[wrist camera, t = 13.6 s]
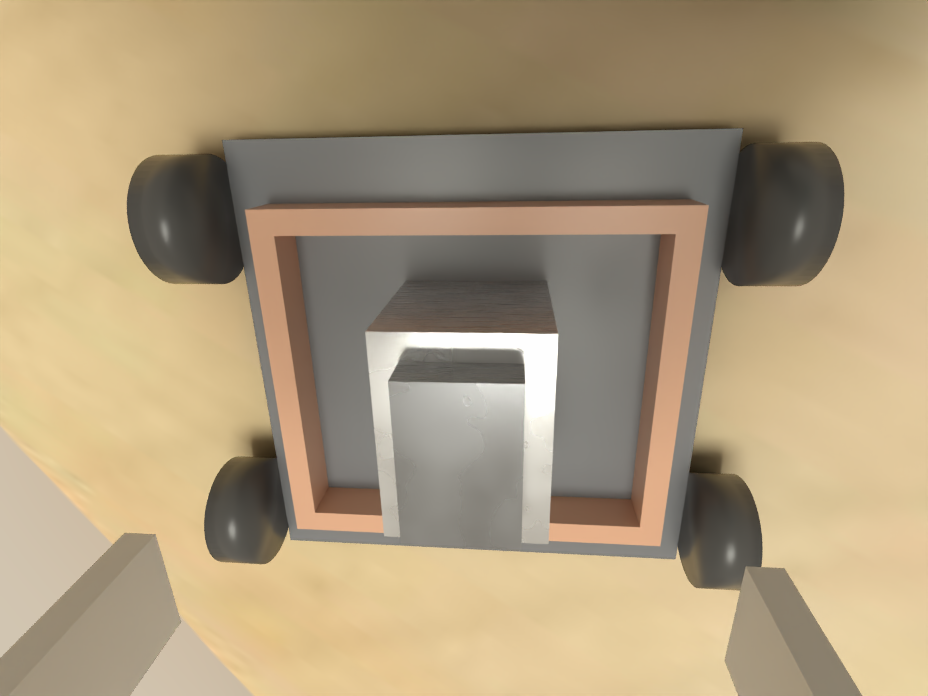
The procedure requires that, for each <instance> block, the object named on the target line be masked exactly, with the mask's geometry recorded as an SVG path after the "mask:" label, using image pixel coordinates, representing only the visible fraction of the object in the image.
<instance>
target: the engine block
mask: <svg viewBox="0 0 928 696" xmlns="http://www.w3.org/2000/svg"><path fill="white" fill-rule="evenodd" d="M365 336H366V347H367V357H368V368H369V379H370V390H371V400H372V411H373V422H374V433H375V444H376V454H377V465H378V476H379V487H380V497H381V508H382V519H383V530H384V536H388V537H400V540H401V545H417V546H437V547H457V548H478V549H498V550H518V551H521V543H532V544H549V523H550V502H551V481H552V459H553V438H554V416H555V395H556V373H557V352H558V330H557V326H556V321H555V316H554V311H553V307H552V302H551V297H550V293H549V288H548V283H547V281H405V282H404V283H403V285H402V286H401V287H400V288H399V290H398V291H397V292H396V293H395V295H394V296H393V297H392V298H391V300H390V301H389V302H388V303H387V305H386V306H385V307H384V309H383V310H382V311H381V312H380V314H379V315H378V316H377V317H376V319H375V320H374V321H373V322H372V324H371V325H370V326H369V327H368V329H367V330H366V331H365Z"/></svg>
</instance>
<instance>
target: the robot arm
mask: <svg viewBox="0 0 928 696" xmlns="http://www.w3.org/2000/svg"><path fill="white" fill-rule="evenodd" d="M180 623H181V620H180V616H179V613H178V610H177V606H176V603H175V599H174V596H173V592H172V589H171V586H170V582H169V579H168V575H167V572H166V569H165V565H164V562H163V558H162V555H161V552H160V548H159V545H158V541H157V538H156V534H137V533H124V534H123V535H122V536H121V537H120V538H119V539H118V540H117V541H116V542H115V543H114V544H113V545H112V546H111V547H110V548H109V549H108V550H107V551H106V552H105V553H104V554H103V555H102V556H101V557H100V558H99V559H98V560H97V561H96V562H95V563H94V564H93V565H92V567H90V569H88V570H87V571H86V572H85V573H84V574H83V575H82V576H81V577H80V578H79V579H78V580H77V581H76V583H74V584H73V585H72V587H71V588H70V589H69V590H68V591H67V592H66V593H65V594H64V595H63V596H62V597H61V598H60V599H59V600H58V601H57V602H56V603H55V604H54V605H53V606H52V607H51V608H50V609H49V610H48V611H47V612H46V613H45V614H44V615H43V616H42V617H41V618H40V619H39V620H38V621H37V622H36V623H35V624H34V625H33V626H32V627H31V628H30V629H29V630H28V631H27V632H26V633H25V634H24V635H23V636H22V637H21V638H20V639H19V640H18V641H17V642H16V643H15V644H14V645H13V646H12V647H11V648H10V649H9V650H8V651H7V652H6V653H5V654H4V655H3V656H2V657H1V658H0V696H130V695H131V693H132V692H133V691H134V689H135V688H136V686H137V685H138V683H139V682H140V680H141V679H142V678H143V676H144V675H145V673H146V672H147V670H148V669H149V667H150V666H151V664H152V663H153V662H154V660H155V659H156V657H157V656H158V655H159V653H160V652H161V650H162V649H163V647H164V646H165V645H166V643H167V642H168V640H169V639H170V637H171V636H172V635H173V633H174V632H175V630H176V628H177V627H178V626H179V624H180ZM725 663H726V665H727V668H728V670H729V673H730V676H731V678H732V681H733V683H734V686H735V688H736V691H737V693H738V696H862V694H861V693H860V691H859V690H858V688H857V686H856V685H855V683H854V681H853V680H852V678H851V676H850V675H849V673H848V672H847V670H846V668H845V667H844V665H843V663H842V662H841V660H840V658H839V657H838V655H837V654H836V652H835V650H834V649H833V647H832V645H831V644H830V642H829V641H828V639H827V637H826V636H825V634H824V632H823V631H822V629H821V627H820V626H819V624H818V623H817V621H816V619H815V618H814V616H813V614H812V613H811V611H810V609H809V608H808V606H807V605H806V603H805V601H804V600H803V598H802V596H801V595H800V593H799V591H798V590H797V588H796V587H795V585H794V583H793V582H792V580H791V578H790V577H789V575H788V573H787V572H786V570H785V569H784V568H767V567H749V566H746V567H745V572H744V576H743V581H742V585H741V590H740V594H739V599H738V603H737V608H736V612H735V616H734V621H733V625H732V630H731V634H730V639H729V643H728V648H727V652H726V657H725Z"/></svg>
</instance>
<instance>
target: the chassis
mask: <svg viewBox="0 0 928 696" xmlns="http://www.w3.org/2000/svg"><path fill="white" fill-rule="evenodd" d="M742 133H743V128H735V129H691V130H646V131H602V132H557V133H513V134H468V135H424V136H379V137H335V138H291V139H246V140H222V142H223V148H224V154H225V159H226V162H225V161H223V160H222V159H221V158H219V157H217V156H215V155H212V154H187V155H155V156H151V157H149V158H147V159H145V160H144V161H142V162H141V164H140V165H139V166H138V167H137V169H136V170H135V172H134V174H133V176H132V178H131V181H130V185H129V189H128V196H127V216H128V224H129V229H130V233H131V236H132V240H133V242H134V245H135V247H136V250H137V252H138V254H139V256H140V257H141V259H142V261H143V262H144V264H145V265H146V266H147V268H148V269H149V270H150V271H151V272H152V273H153V274H154V275H155V276H157V277H158V278H159V279H161V280H163V281H165V282H168V283H173V284H227V283H229V282H231V281H233V280H234V279H235V278H237V277H238V275H239V274H240V273H241V271H242V269H243V267H244V270H245V276H246V282H247V288H248V293H249V299H250V305H251V311H252V317H253V323H254V328H255V334H256V340H257V346H258V352H259V358H260V363H261V369H262V375H263V381H264V387H265V392H266V398H267V404H268V410H269V416H270V422H271V427H272V433H273V439H274V445H275V451H276V457H277V458H263V457H234V458H232V459H231V460H229V461H228V462H227V463H226V464H225V465H224V466H223V467H222V468H221V470H220V471H219V473H218V474H217V476H216V478H215V480H214V482H213V485H212V487H211V490H210V493H209V496H208V500H207V505H206V510H205V520H204V531H205V540H206V544H207V547H208V550H209V552H210V554H211V555H212V557H213V558H214V559H215V560H217V561H220V562H232V563H250V564H266V563H268V562H270V561H271V560H272V559H273V558H274V557H275V556H276V554H277V553H278V551H279V550H280V548H281V546H282V544H283V542H284V539H285V537H286V534H287V531H288V527H289V532H290V538H291V540H302V541H322V542H342V543H362V544H382V545H401V540H400V537H388V536H384V530H383V519H382V508H381V497H380V487H379V476H378V465H377V454H376V444H375V433H374V422H373V411H372V400H371V390H370V379H369V368H368V357H367V347H366V336H365V331H366V330H367V329H368V327H369V326H370V325H371V324H372V322H373V321H374V320H375V319H376V317H377V316H378V315H379V314H380V312H381V311H382V310H383V309H384V307H385V306H386V305H387V303H388V302H389V301H390V300H391V298H392V297H393V296H394V295H395V293H396V292H397V291H398V290H399V288H400V287H401V286H402V285H403V283H404V282H405V281H547V283H548V288H549V293H550V297H551V302H552V307H553V311H554V316H555V321H556V326H557V330H558V352H557V373H556V395H555V416H554V438H553V459H552V481H551V502H550V523H549V544H532V543H521V552H541V553H561V554H581V555H601V556H621V557H641V558H661V559H676V553H677V546H678V550H679V555H680V559H681V562H682V566H683V569H684V571H685V574H686V576H687V578H688V580H689V581H690V583H691V584H692V585H693V586H694V587H696V588H706V589H724V590H741V585H742V581H743V576H744V572H745V567H746V566H749V567H761V564H762V533H761V526H760V520H759V515H758V511H757V508H756V505H755V501H754V499H753V496H752V494H751V492H750V490H749V488H748V486H747V485H746V483H745V482H744V481H743V480H742V479H741V478H740V477H739V476H738V475H735V474H714V473H689V470H690V464H691V457H692V451H693V445H694V438H695V432H696V426H697V419H698V413H699V406H700V400H701V394H702V387H703V381H704V375H705V368H706V362H707V356H708V349H709V343H710V336H711V330H712V324H713V317H714V311H715V305H716V298H717V292H718V286H719V279H720V273H721V267H722V270H723V272H724V274H725V276H726V278H727V279H728V280H729V282H731V283H732V284H733V285H736V286H801V285H804V284H806V283H808V282H809V281H811V280H812V279H813V278H815V277H816V276H817V275H818V273H819V272H820V271H821V270H822V268H823V267H824V265H825V264H826V262H827V261H828V259H829V257H830V255H831V253H832V251H833V248H834V246H835V243H836V240H837V237H838V234H839V230H840V226H841V221H842V216H843V208H844V182H843V175H842V171H841V167H840V164H839V161H838V159H837V157H836V155H835V153H834V152H833V151H832V149H831V148H830V147H828V146H827V145H826V144H823V143H821V142H787V143H753V144H750V145H748V146H746V147H745V148H744V149H743V150H742V151H741V152H740V146H741V139H742ZM739 152H740V153H739ZM402 546H417V545H402ZM422 547H437V546H422ZM442 548H457V547H442ZM461 549H478V548H461ZM481 550H498V549H481ZM501 551H518V550H501Z"/></svg>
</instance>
